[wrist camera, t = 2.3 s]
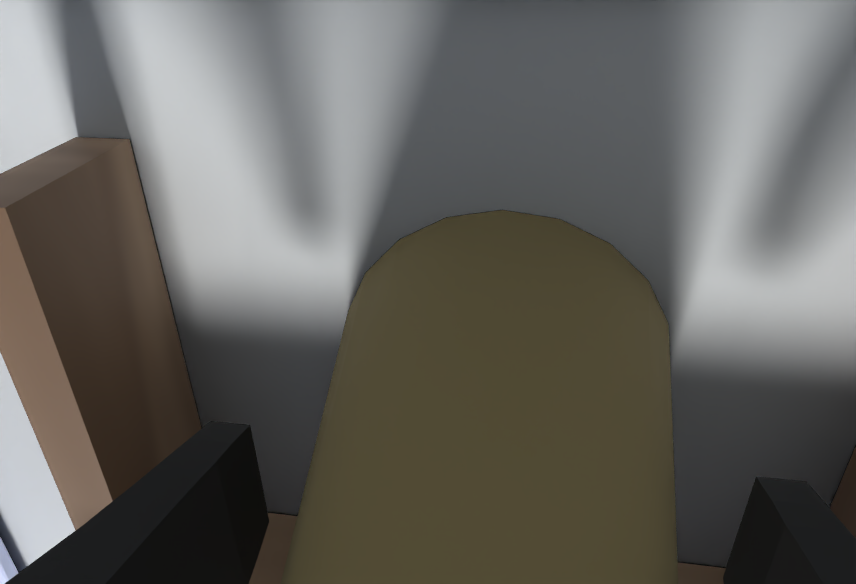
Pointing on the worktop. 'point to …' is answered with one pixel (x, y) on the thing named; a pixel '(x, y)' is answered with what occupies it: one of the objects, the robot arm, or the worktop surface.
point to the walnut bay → (121, 337)
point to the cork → (495, 417)
